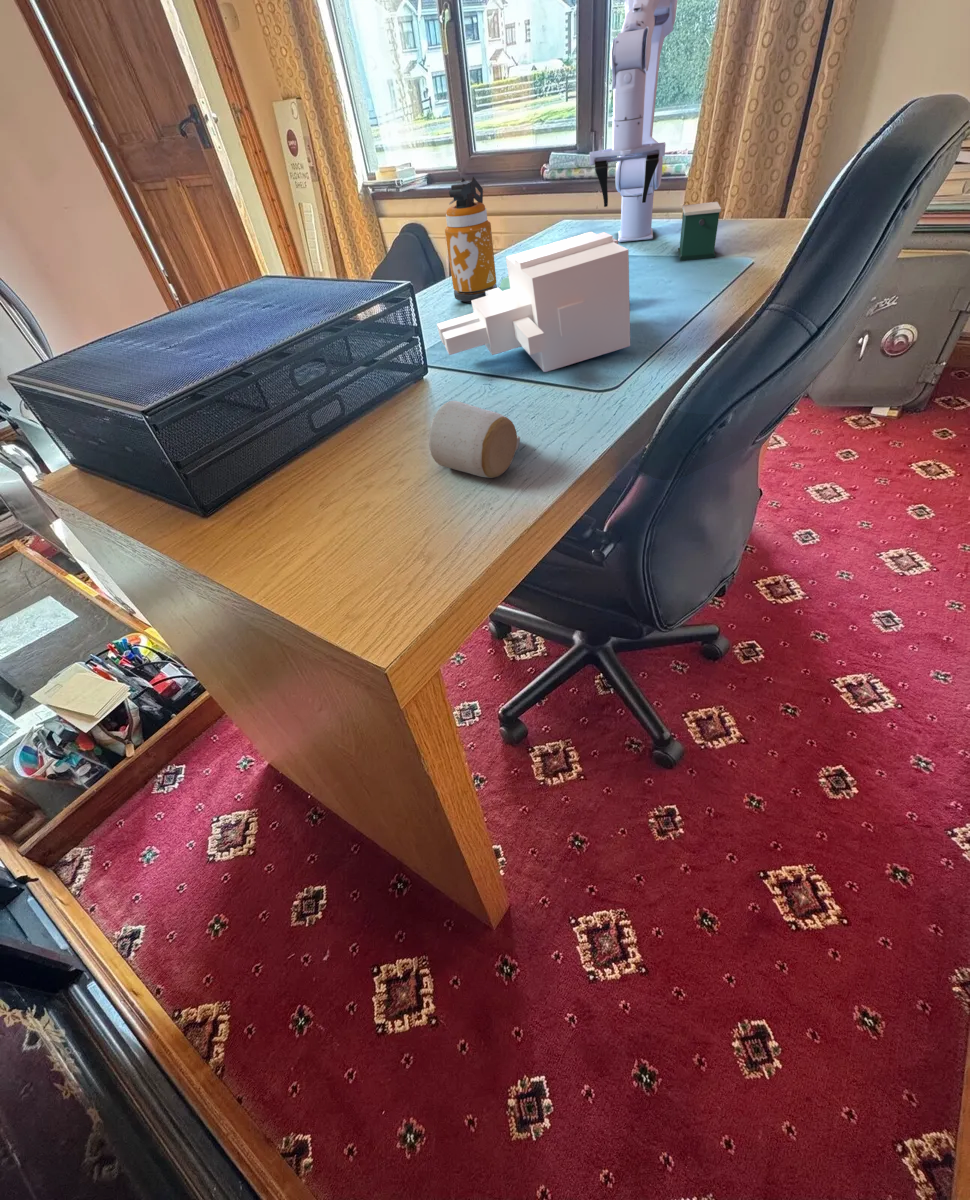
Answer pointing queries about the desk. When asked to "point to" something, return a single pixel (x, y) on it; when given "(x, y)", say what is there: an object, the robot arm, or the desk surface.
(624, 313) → the blocky voxel creature
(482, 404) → the desk surface
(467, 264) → the canister
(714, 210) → the green and cream block
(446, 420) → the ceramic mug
